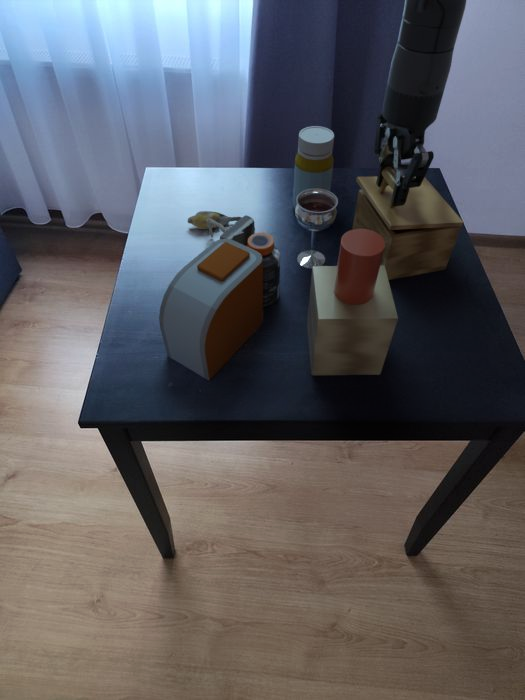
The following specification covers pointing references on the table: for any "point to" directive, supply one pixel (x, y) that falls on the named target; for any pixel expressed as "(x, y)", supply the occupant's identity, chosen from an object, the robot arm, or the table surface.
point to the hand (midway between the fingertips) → (389, 194)
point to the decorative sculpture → (215, 219)
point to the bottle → (313, 160)
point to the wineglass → (315, 220)
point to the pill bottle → (267, 265)
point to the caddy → (407, 243)
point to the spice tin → (358, 266)
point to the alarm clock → (213, 306)
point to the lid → (409, 204)
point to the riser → (348, 327)
